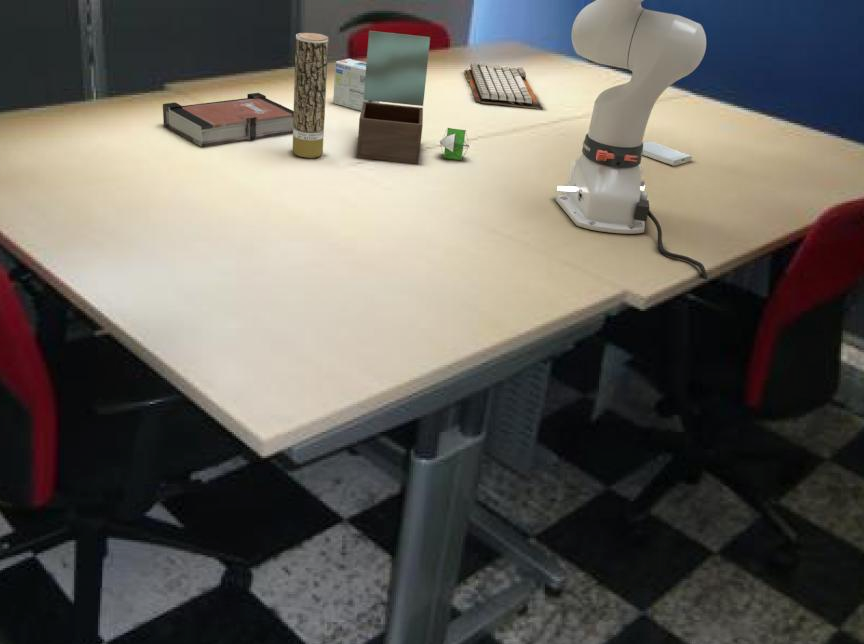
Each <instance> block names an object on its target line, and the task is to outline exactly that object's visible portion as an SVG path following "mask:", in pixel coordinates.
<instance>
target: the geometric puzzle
mask: <svg viewBox="0 0 864 644" xmlns="http://www.w3.org/2000/svg"><path fill="white" fill-rule="evenodd" d="M466 136H467V130H466V129H460V128H459V129H458V128H451V127H447V129H446V136H444V137H442V138H441V139H440V140H439V143H440V148H441V152H442V153H443V155H442V157H443V159H449V160H458V161H462V160H463V158H464V156H465V155H466V153H464V152H463V151H464V150H466V151H468V150H469V148H470V144H469V143H467V142H466V140H465V139H467V141H469V139H468V138H465V137H466ZM443 147H444V150H443ZM443 151H444V152H443ZM463 153H464V154H463Z"/></svg>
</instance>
